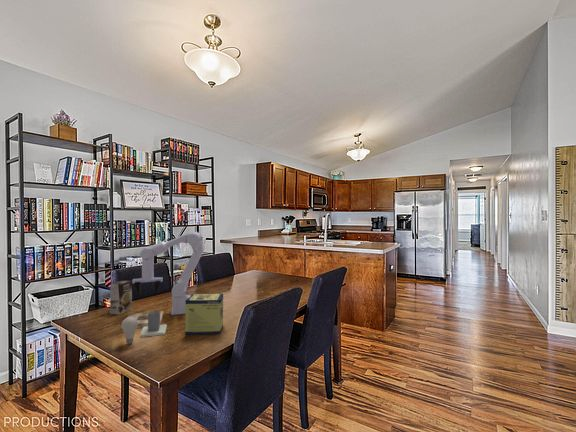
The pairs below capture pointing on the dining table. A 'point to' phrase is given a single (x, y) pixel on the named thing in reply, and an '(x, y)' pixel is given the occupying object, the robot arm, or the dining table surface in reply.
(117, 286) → the coffee box
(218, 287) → the dining table surface
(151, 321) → the peg
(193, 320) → the protein box
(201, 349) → the dining table surface
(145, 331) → the pad
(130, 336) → the lightbulb
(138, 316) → the pocket board
